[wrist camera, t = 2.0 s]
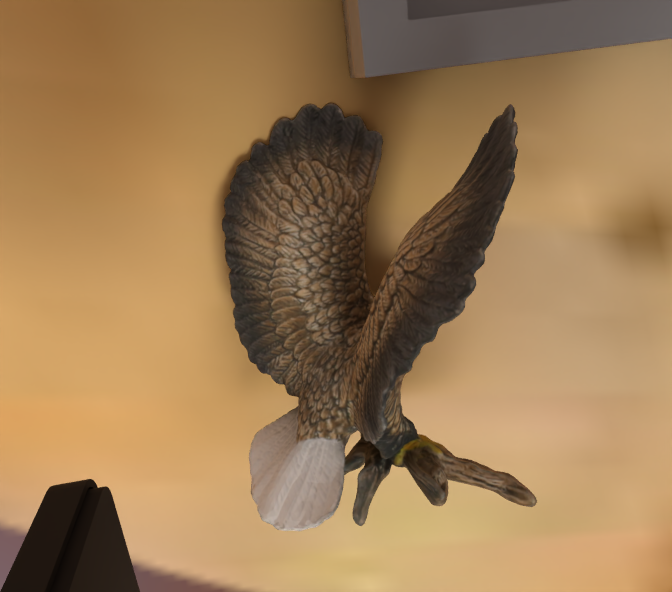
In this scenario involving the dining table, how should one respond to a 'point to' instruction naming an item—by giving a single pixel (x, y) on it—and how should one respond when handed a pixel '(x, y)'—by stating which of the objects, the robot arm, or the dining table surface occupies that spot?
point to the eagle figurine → (350, 310)
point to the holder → (490, 30)
